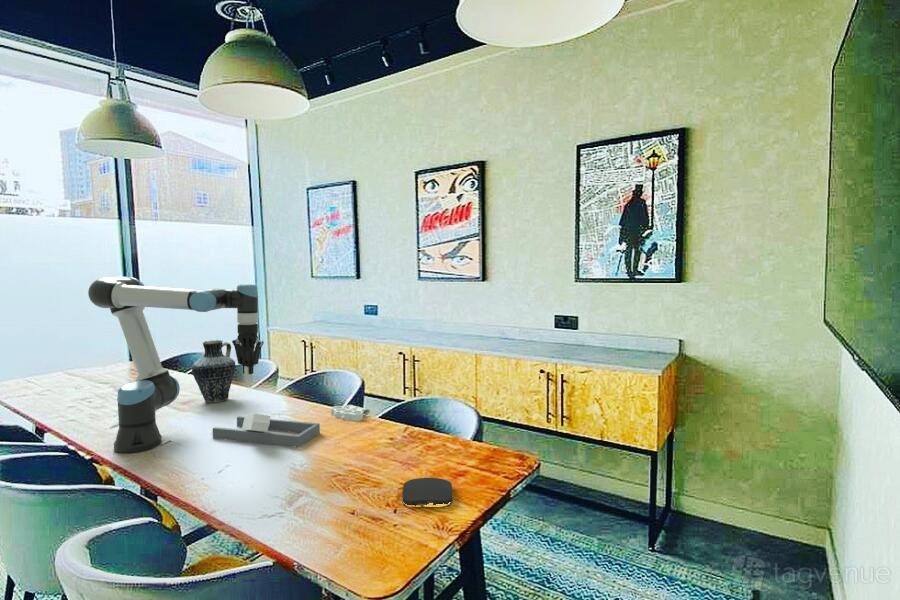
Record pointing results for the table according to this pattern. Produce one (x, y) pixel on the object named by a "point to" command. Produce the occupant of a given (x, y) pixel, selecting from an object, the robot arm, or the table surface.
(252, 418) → the milk
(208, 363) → the jug
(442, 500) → the media streaming box
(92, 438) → the table surface
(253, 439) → the tray
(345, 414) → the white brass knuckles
